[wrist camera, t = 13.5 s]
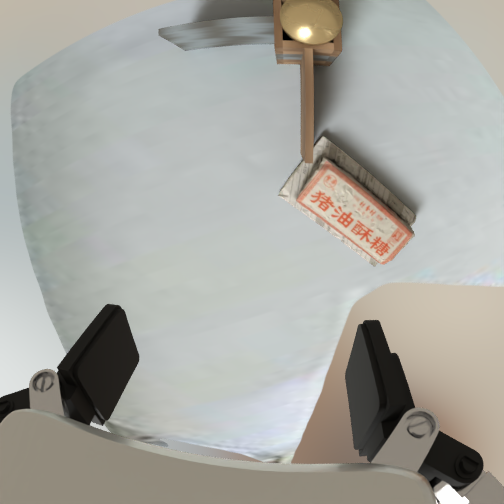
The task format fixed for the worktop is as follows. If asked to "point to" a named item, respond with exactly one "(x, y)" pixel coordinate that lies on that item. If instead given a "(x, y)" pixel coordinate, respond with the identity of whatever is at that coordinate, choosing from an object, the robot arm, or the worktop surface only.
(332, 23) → the hinge pin
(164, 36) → the hinge
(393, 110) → the worktop surface
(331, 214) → the packaged product
